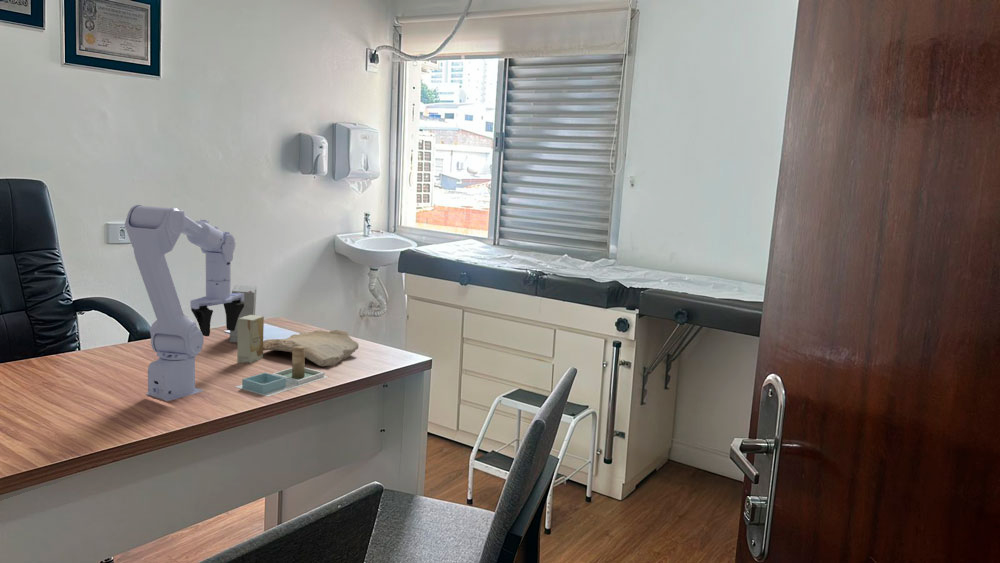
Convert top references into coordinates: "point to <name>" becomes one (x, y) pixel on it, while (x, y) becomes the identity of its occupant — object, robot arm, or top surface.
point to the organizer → (293, 380)
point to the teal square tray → (271, 385)
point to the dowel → (298, 362)
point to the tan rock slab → (317, 346)
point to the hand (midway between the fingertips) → (218, 332)
